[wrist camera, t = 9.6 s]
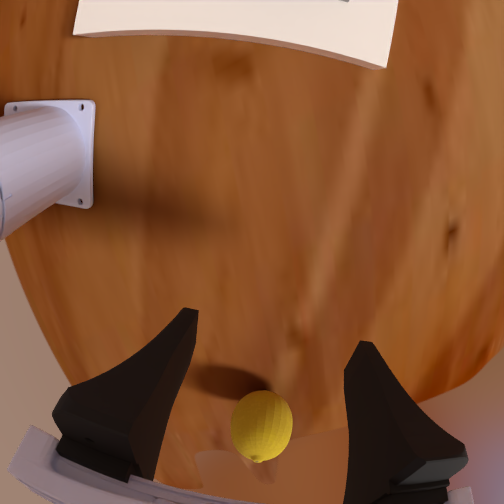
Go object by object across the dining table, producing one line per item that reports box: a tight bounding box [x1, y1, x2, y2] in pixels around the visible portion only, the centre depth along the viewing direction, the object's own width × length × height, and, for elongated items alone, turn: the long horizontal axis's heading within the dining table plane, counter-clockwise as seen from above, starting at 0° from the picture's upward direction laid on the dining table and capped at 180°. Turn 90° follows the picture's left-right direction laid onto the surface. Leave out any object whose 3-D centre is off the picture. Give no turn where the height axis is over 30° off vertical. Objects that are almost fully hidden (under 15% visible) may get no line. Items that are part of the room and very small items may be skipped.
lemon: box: [231, 390, 292, 463], centre depth 26 cm, size 6×6×8 cm
